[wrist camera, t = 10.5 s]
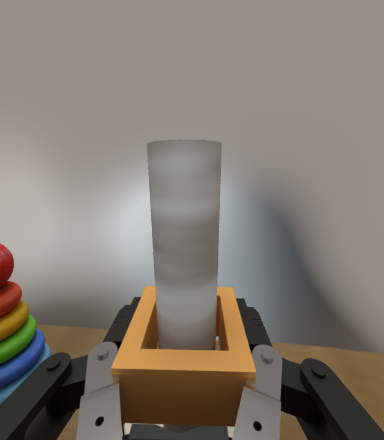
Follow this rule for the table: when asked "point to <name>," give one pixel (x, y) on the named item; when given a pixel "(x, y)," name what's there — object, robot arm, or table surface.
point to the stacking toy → (16, 332)
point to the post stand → (185, 244)
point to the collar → (183, 370)
